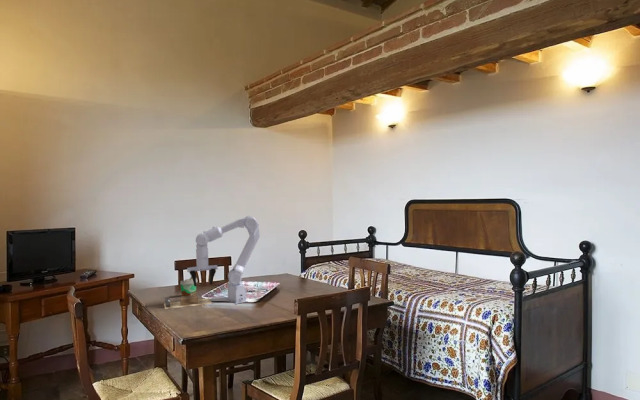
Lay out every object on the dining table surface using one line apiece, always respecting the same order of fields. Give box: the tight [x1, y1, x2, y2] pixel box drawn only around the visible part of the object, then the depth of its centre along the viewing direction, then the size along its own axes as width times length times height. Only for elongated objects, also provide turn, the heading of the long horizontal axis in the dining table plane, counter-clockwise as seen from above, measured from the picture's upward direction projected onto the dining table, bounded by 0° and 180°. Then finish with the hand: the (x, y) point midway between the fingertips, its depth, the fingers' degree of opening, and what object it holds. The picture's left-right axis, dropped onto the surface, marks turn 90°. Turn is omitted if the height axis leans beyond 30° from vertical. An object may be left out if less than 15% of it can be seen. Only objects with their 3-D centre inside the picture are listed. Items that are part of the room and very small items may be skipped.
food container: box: [179, 276, 199, 297], centre depth 243 cm, size 12×6×10 cm, turn 168°
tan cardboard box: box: [179, 294, 199, 306], centre depth 224 cm, size 8×6×3 cm
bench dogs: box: [164, 296, 171, 307], centre depth 220 cm, size 2×6×4 cm, turn 22°
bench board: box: [163, 297, 213, 310], centre depth 224 cm, size 22×12×2 cm, turn 112°
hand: (203, 285), depth 227 cm, fingers open, 7 cm apart
